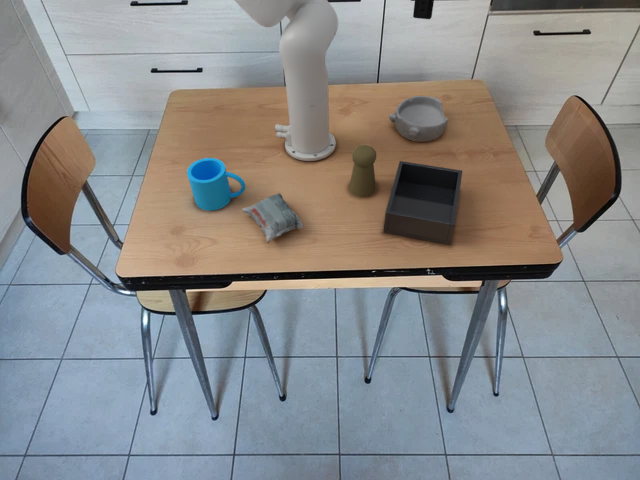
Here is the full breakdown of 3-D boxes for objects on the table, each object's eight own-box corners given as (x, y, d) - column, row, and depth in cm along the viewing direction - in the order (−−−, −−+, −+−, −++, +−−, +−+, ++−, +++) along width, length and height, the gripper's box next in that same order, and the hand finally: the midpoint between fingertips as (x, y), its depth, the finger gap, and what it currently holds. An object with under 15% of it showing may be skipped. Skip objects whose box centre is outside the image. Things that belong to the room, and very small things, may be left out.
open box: (383, 232, 102) (385, 212, 97) (397, 181, 112) (399, 160, 108) (449, 245, 99) (454, 225, 95) (457, 191, 110) (462, 170, 105)
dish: (430, 106, 132) (433, 90, 128) (457, 135, 123) (461, 119, 119) (381, 119, 128) (383, 102, 125) (406, 149, 120) (408, 133, 116)
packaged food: (268, 250, 100) (266, 233, 96) (243, 215, 106) (239, 198, 103) (305, 233, 102) (304, 216, 99) (278, 200, 109) (276, 183, 106)
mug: (191, 210, 108) (182, 182, 102) (199, 185, 113) (191, 157, 107) (245, 211, 107) (239, 183, 101) (250, 186, 113) (245, 158, 106)
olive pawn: (374, 198, 109) (377, 160, 100) (347, 195, 110) (348, 156, 101) (377, 180, 113) (380, 142, 104) (351, 177, 114) (352, 139, 105)
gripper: (423, -120, 83) (412, -15, 96) (407, -90, 72) (397, 25, 85) (468, -119, 82) (451, -11, 94) (459, -87, 71) (441, 29, 83)
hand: (425, 6), depth 90 cm, fingers open, 9 cm apart
